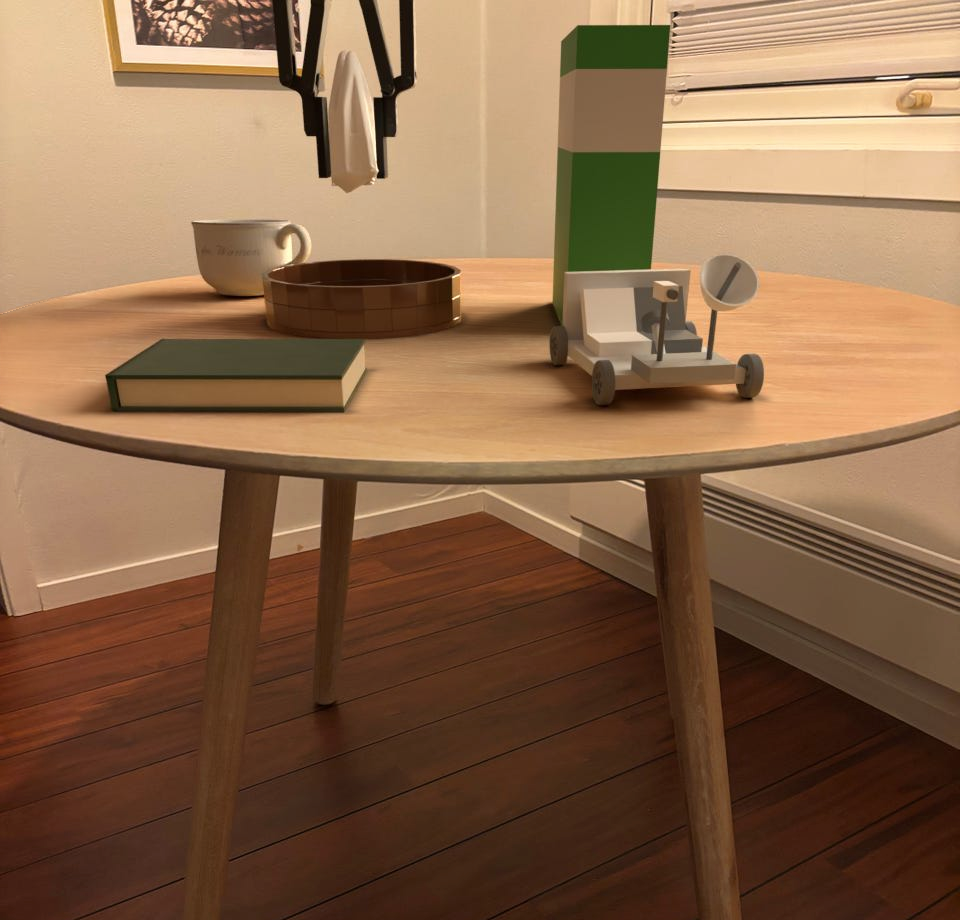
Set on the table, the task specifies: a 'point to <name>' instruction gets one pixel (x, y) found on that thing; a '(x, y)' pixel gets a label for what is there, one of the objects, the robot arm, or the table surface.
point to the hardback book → (608, 148)
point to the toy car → (653, 328)
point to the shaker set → (351, 126)
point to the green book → (239, 376)
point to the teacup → (245, 252)
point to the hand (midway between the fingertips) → (353, 177)
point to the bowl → (362, 298)
